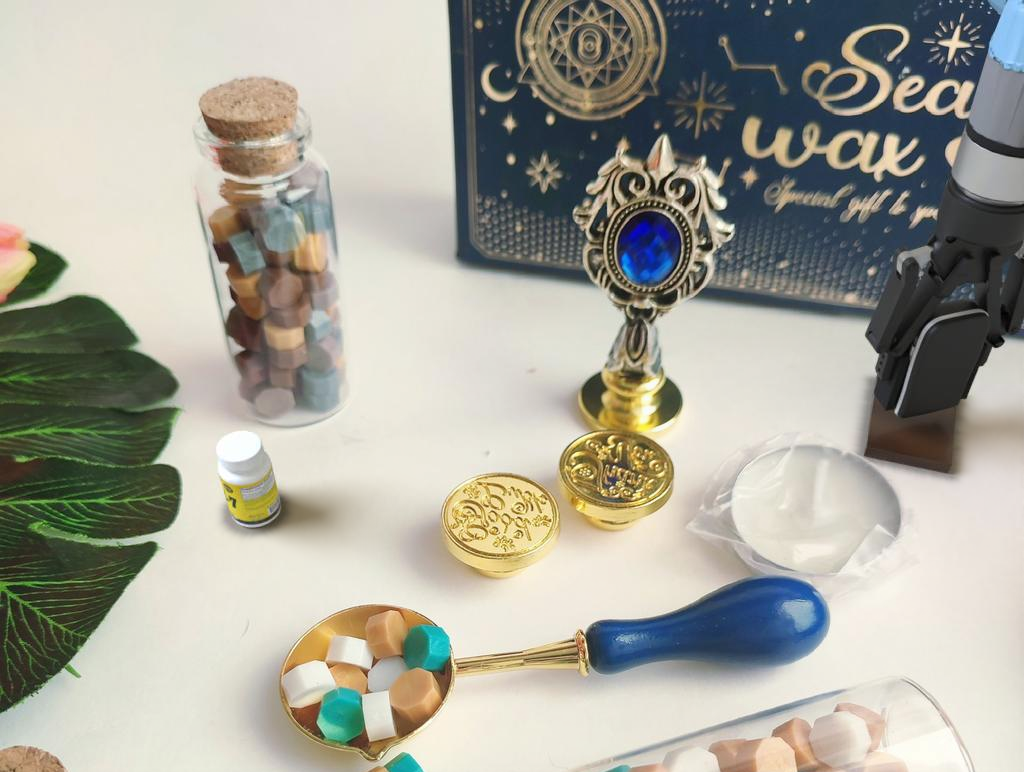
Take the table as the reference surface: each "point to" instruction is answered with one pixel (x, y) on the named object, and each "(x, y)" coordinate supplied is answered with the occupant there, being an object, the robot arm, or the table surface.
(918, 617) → the table surface
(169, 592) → the table surface
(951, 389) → the battery charger
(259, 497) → the supplement bottle
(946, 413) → the walnut board
